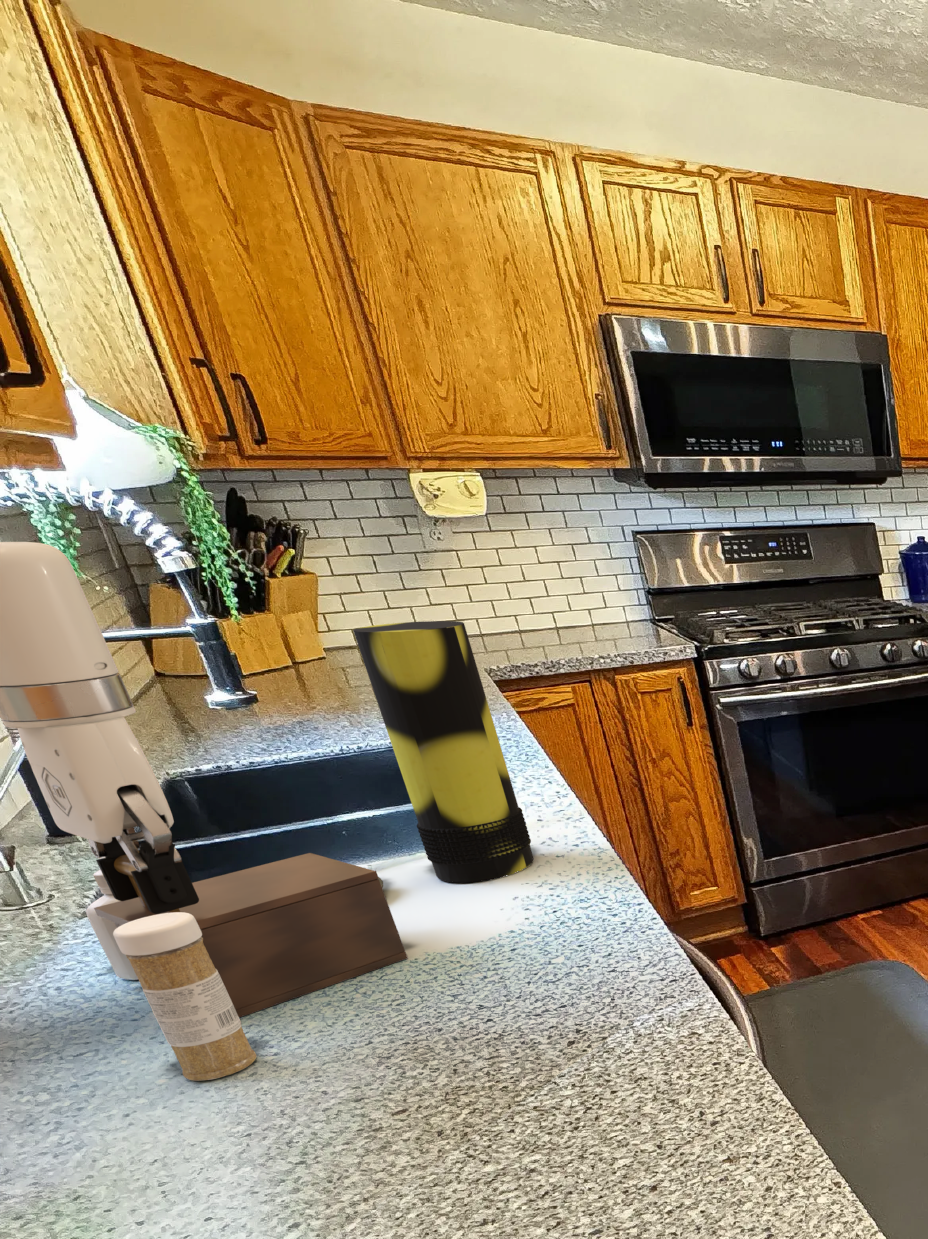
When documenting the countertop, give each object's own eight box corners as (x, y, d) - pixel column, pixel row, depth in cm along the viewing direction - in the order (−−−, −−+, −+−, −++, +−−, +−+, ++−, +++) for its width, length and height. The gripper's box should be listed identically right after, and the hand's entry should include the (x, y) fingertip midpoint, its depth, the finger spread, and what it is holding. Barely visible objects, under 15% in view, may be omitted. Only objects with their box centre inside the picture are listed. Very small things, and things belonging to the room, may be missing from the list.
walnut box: (215, 1026, 89) (173, 937, 85) (151, 998, 94) (109, 913, 91) (408, 958, 102) (379, 879, 98) (342, 936, 107) (312, 860, 103)
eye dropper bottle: (116, 972, 99) (60, 860, 94) (193, 953, 103) (143, 845, 98) (120, 985, 97) (62, 870, 92) (198, 965, 100) (147, 854, 96)
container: (515, 849, 133) (446, 618, 121) (551, 865, 127) (482, 624, 115) (420, 872, 125) (336, 627, 113) (454, 891, 119) (368, 635, 107)
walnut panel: (161, 940, 85) (132, 880, 83) (97, 915, 90) (68, 858, 88) (378, 878, 98) (359, 824, 96) (312, 859, 103) (292, 808, 101)
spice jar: (220, 1054, 84) (153, 910, 79) (273, 1054, 84) (209, 909, 79) (168, 1084, 80) (92, 933, 75) (223, 1084, 80) (152, 933, 75)
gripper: (-43, 701, 82) (59, 900, 89) (43, 719, 75) (146, 934, 82) (82, 686, 88) (168, 873, 95) (172, 701, 81) (258, 903, 88)
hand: (157, 900), depth 89 cm, fingers closed on walnut panel, 6 cm apart
